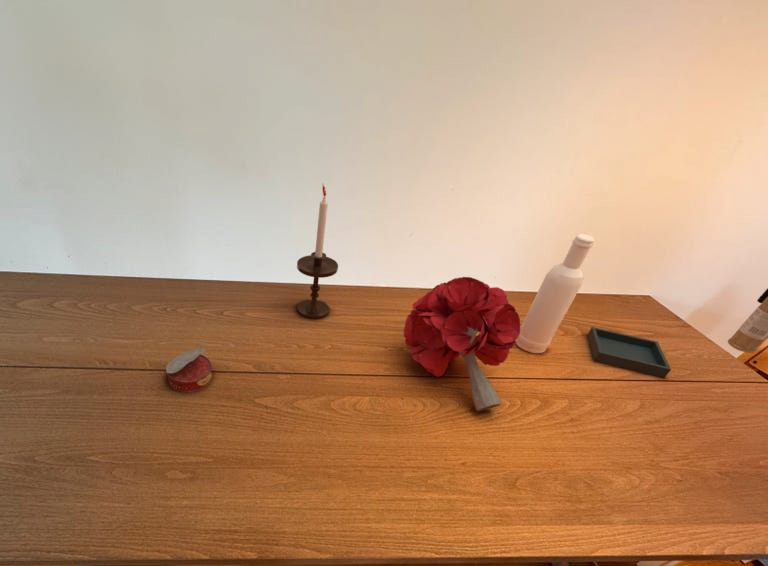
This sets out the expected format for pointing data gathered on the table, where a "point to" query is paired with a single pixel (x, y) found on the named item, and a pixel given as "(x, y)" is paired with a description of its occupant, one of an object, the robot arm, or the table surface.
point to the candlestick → (317, 269)
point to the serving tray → (628, 352)
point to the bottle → (554, 298)
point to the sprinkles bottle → (752, 330)
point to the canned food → (189, 371)
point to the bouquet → (463, 331)
